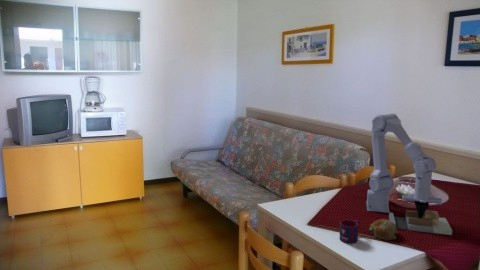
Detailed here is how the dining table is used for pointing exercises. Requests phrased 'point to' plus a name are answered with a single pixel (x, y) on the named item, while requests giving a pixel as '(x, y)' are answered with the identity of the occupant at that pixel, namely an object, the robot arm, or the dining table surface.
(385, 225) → the bread roll
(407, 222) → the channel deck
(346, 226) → the mug
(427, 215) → the wooden block
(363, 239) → the dining table surface
